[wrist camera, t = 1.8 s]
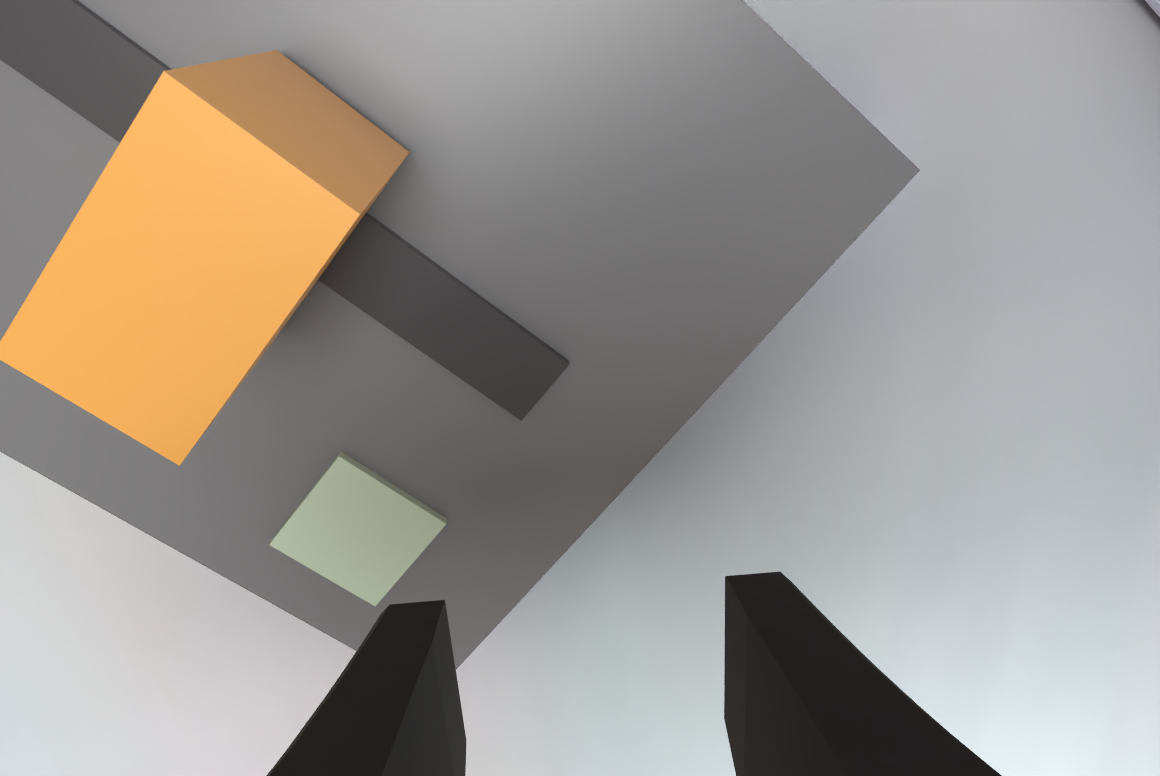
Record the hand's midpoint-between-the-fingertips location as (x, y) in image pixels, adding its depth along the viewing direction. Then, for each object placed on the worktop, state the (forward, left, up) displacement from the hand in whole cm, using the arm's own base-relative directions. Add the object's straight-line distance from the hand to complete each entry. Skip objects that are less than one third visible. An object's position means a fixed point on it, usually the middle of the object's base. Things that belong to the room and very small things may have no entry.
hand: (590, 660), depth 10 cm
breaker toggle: (+6, 0, -7) cm, 9 cm away
